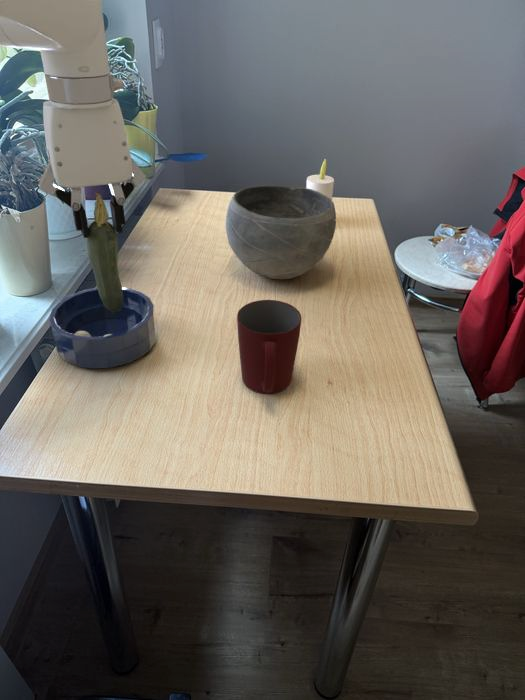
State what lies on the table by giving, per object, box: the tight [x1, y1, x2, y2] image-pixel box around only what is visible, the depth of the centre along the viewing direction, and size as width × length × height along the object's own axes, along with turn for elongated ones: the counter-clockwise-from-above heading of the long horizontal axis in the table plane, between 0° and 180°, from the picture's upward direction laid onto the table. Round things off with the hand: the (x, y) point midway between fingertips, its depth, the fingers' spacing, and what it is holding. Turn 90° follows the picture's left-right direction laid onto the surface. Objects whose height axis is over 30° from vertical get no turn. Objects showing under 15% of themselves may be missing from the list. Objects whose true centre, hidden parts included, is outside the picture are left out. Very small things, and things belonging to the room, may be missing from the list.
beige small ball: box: [74, 331, 91, 337], centre depth 82 cm, size 3×3×3 cm
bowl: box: [225, 184, 337, 280], centre depth 104 cm, size 21×21×15 cm
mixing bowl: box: [48, 286, 158, 369], centre depth 84 cm, size 16×16×6 cm
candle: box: [305, 158, 335, 201], centre depth 125 cm, size 6×6×15 cm
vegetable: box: [86, 192, 123, 313], centre depth 78 cm, size 4×4×20 cm
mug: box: [236, 299, 302, 395], centre depth 75 cm, size 12×9×11 cm
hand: (101, 230), depth 75 cm, fingers closed on vegetable, 4 cm apart
